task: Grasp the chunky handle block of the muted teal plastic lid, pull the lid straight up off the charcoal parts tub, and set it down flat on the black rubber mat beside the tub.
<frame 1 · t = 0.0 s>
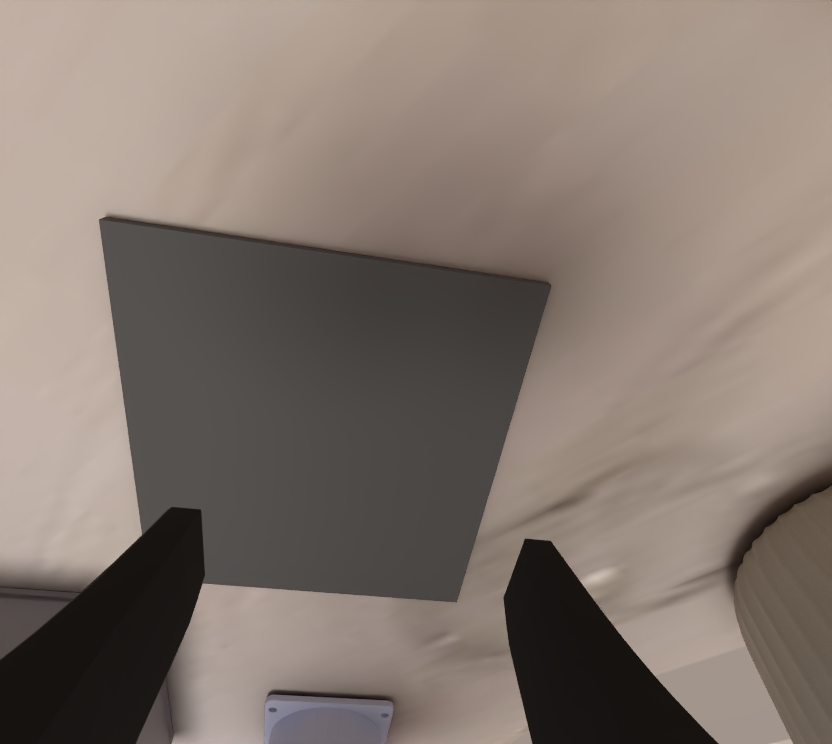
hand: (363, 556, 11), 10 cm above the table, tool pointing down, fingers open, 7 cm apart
mat: (320, 449, 22), on the table
tub: (58, 669, 29), on the table
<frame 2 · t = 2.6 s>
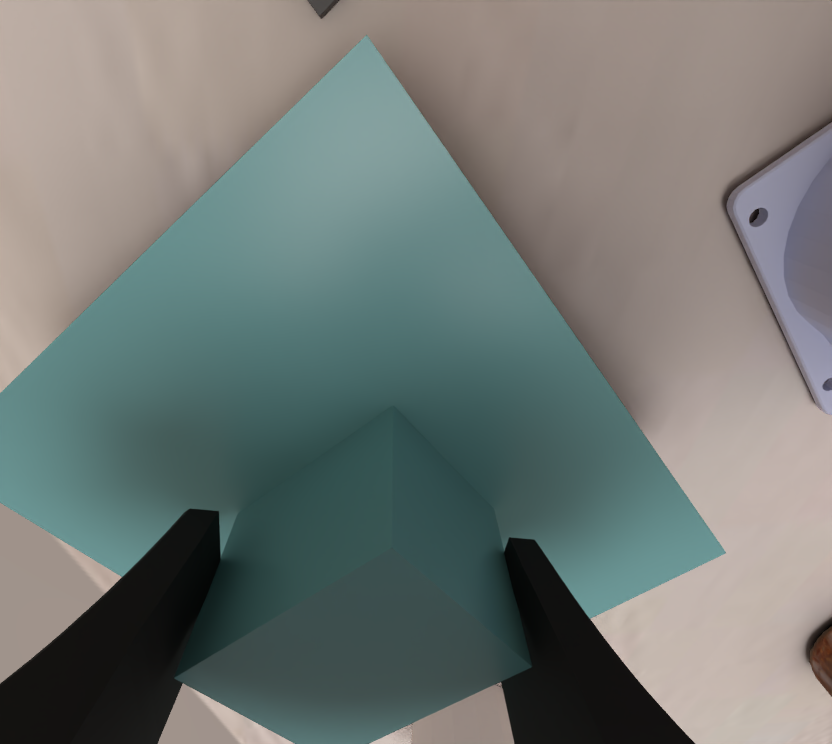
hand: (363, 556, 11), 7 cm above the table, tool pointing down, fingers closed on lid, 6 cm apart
lid: (369, 469, 14), point 4 cm above the table, touching gripper, tub
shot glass: (464, 707, 27), on the table
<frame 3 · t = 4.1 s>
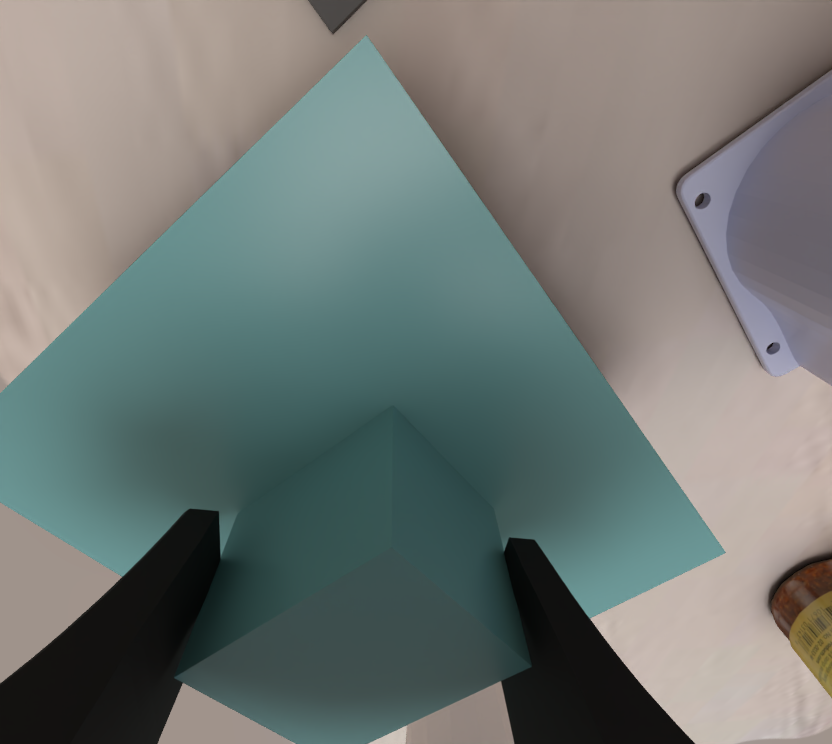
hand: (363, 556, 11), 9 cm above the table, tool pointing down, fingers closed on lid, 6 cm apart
sauce bottle: (822, 583, 27), on the table
lid: (369, 469, 14), point 6 cm above the table, touching gripper
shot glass: (458, 657, 29), on the table
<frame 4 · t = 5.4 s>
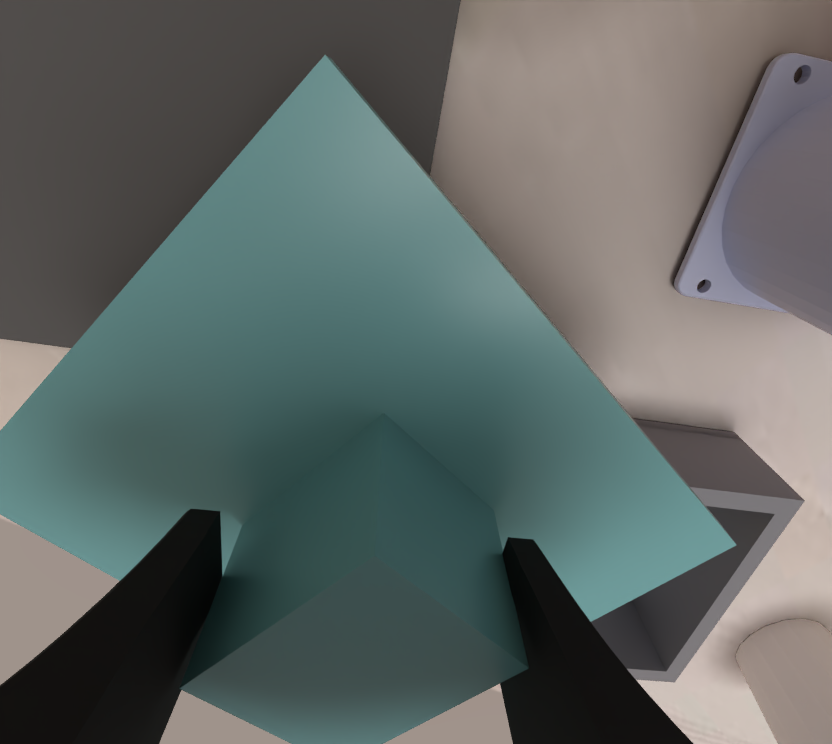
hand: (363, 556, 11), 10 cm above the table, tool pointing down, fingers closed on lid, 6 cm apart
mat: (159, 143, 16), on the table
lid: (371, 476, 14), point 7 cm above the table, touching gripper
tub: (551, 512, 25), on the table
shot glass: (779, 644, 31), on the table
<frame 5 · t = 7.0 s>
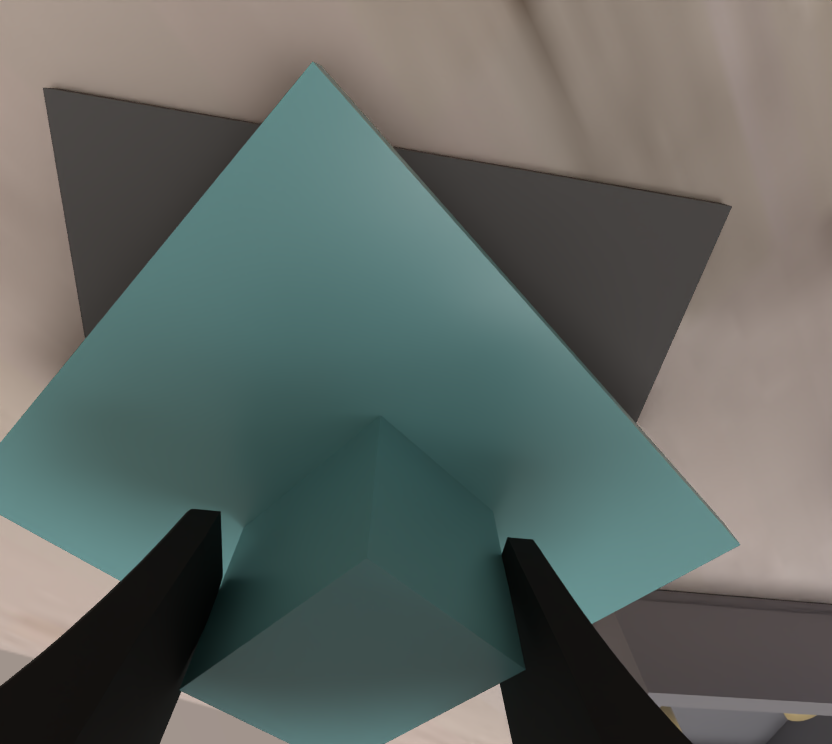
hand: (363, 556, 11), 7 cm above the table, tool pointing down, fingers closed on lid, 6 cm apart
mat: (375, 403, 17), on the table
lid: (371, 478, 14), point 3 cm above the table, touching gripper
tub: (693, 675, 25), on the table
when the fingers open (5 cm above the table, at t = 8.4 s): lid drops 1 cm, resting on mat.
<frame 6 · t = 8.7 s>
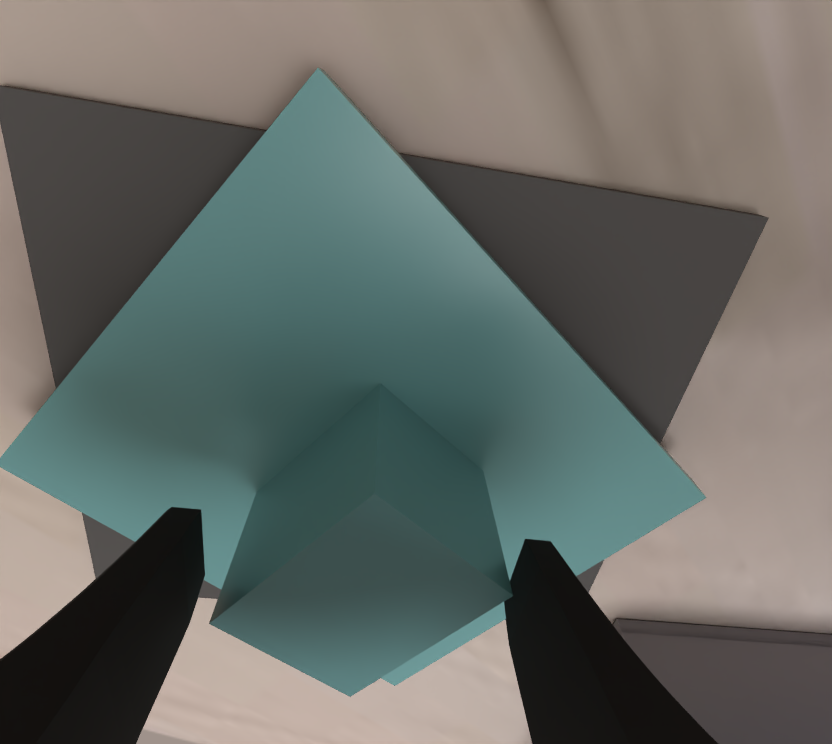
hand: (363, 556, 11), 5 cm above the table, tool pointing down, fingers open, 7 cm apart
mat: (372, 430, 15), on the table
lid: (372, 447, 15), resting on mat
tub: (710, 708, 24), on the table
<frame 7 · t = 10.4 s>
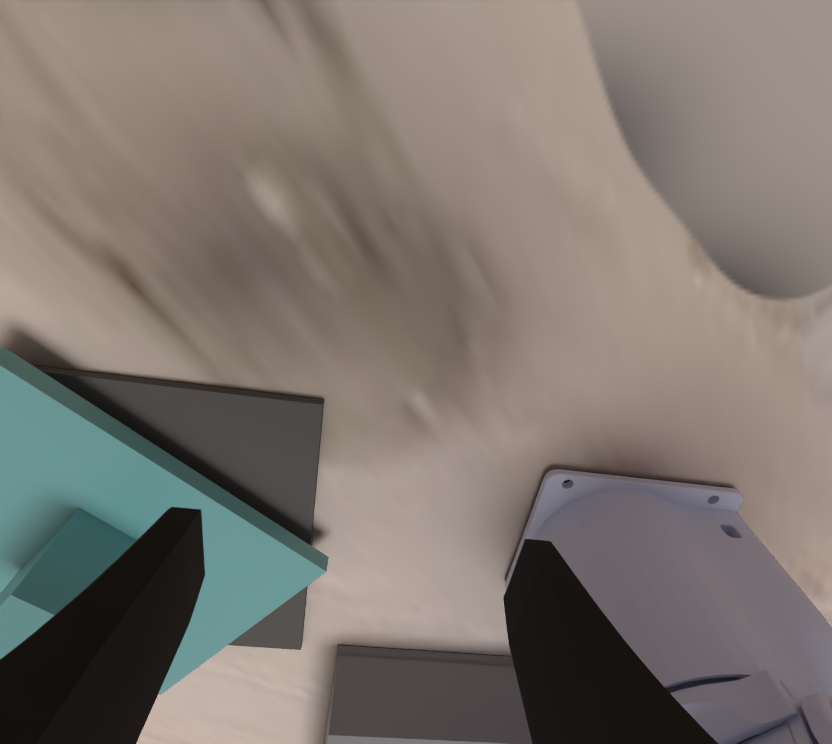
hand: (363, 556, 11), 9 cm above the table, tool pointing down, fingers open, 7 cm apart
mat: (114, 522, 23), on the table
lid: (111, 534, 23), resting on mat
tub: (440, 710, 31), on the table
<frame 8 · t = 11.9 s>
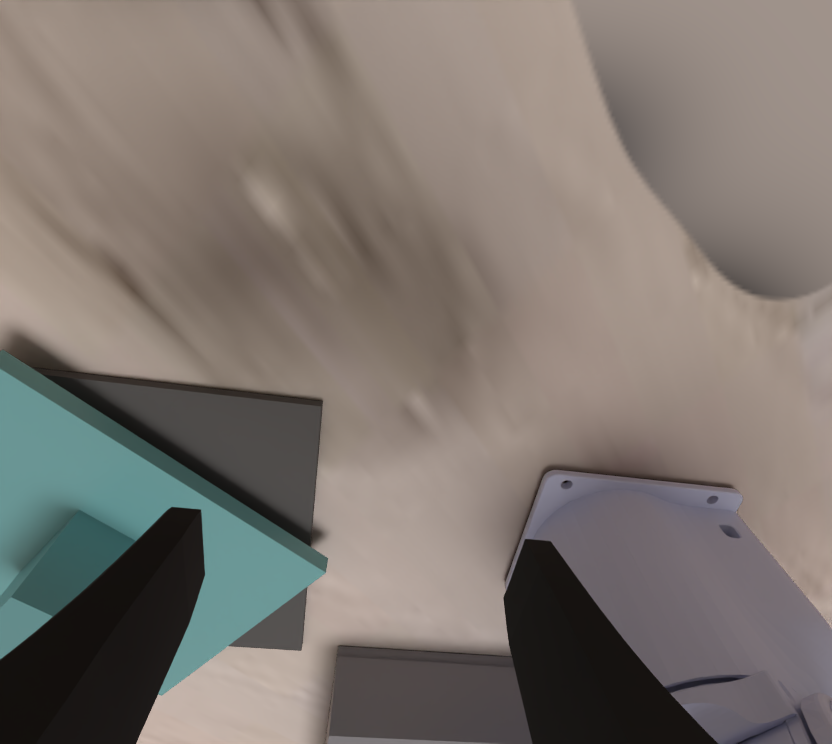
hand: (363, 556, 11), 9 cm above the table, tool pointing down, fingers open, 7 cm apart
mat: (114, 524, 23), on the table
lid: (112, 536, 23), resting on mat
tub: (441, 711, 31), on the table
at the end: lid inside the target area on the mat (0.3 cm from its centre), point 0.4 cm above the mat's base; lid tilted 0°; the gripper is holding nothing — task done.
